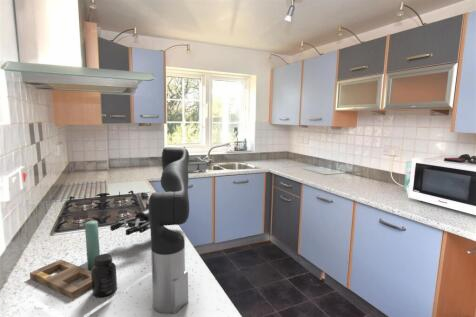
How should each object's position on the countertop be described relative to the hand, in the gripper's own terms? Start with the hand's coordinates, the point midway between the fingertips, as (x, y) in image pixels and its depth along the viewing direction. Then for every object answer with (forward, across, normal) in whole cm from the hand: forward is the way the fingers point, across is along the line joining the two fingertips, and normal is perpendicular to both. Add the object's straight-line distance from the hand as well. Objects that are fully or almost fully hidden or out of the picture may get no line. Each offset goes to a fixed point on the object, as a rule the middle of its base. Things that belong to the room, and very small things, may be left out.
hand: (118, 230), depth 109 cm
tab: (+11, 0, +10) cm, 15 cm away
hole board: (+21, 0, +10) cm, 23 cm away
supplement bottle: (+19, +16, +10) cm, 27 cm away
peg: (+11, 0, +9) cm, 14 cm away
